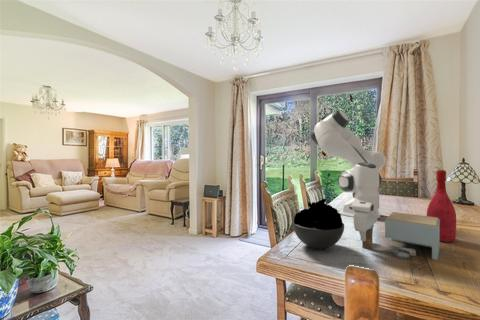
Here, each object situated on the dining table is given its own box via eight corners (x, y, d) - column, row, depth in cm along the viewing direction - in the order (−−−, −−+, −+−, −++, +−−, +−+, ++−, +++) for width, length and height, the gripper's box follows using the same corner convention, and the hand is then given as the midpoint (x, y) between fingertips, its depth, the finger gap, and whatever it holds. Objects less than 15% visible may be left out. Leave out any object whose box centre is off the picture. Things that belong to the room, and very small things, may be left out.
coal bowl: (315, 261, 84) (314, 208, 84) (283, 242, 103) (282, 199, 102) (356, 251, 92) (356, 203, 92) (319, 235, 111) (319, 195, 110)
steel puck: (393, 257, 87) (393, 252, 87) (393, 253, 91) (393, 247, 91) (410, 261, 84) (410, 255, 84) (409, 255, 88) (409, 250, 88)
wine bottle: (449, 236, 107) (449, 169, 106) (461, 244, 98) (461, 170, 97) (422, 234, 110) (423, 169, 110) (432, 241, 101) (432, 170, 100)
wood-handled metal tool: (362, 247, 96) (362, 230, 96) (362, 244, 99) (362, 228, 99) (416, 256, 87) (416, 237, 87) (414, 252, 90) (414, 234, 90)
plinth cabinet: (385, 248, 95) (384, 218, 94) (391, 238, 105) (391, 211, 105) (437, 260, 84) (437, 225, 84) (439, 248, 94) (439, 217, 94)
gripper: (365, 198, 106) (365, 229, 107) (350, 206, 91) (350, 242, 91) (381, 200, 102) (381, 232, 102) (368, 208, 87) (368, 246, 87)
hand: (366, 237), depth 97 cm, fingers open, 8 cm apart
